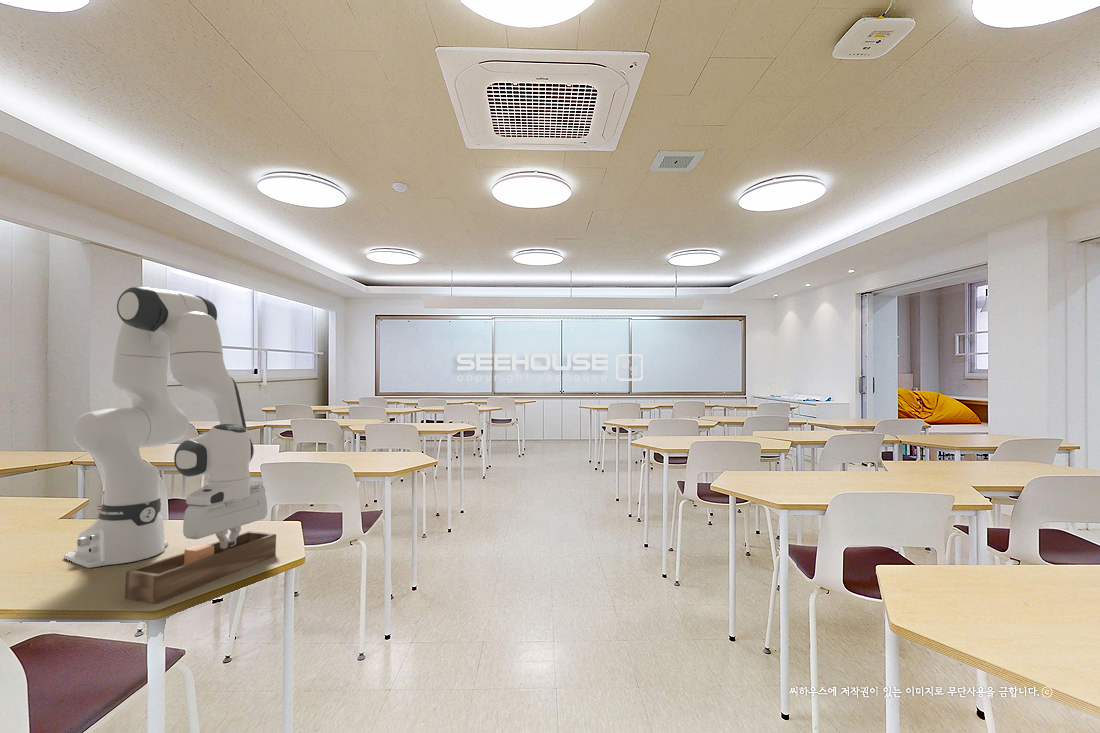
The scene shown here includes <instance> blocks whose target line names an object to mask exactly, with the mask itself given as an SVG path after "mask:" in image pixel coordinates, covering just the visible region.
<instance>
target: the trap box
mask: <svg viewBox="0 0 1100 733" xmlns="http://www.w3.org/2000/svg"><path fill="white" fill-rule="evenodd" d="M228 538H229V537H227V539H228ZM208 545H212V546H214V555H212V556H209V557H206V558H203V559H200V560H198V561H195V562H192V563H189V564H186V565H184V554H185V551H184V552H182V553H179V554H175V555H173V556H169V557H166V558H163V559H160V560H158V561H155V562H151V563H148V564H144V565H142V566H139V567H136V568H133V569H130V570H127V571H125V584H124V586H125V587H124V588H125V589H124V590H125V591H124V599H126V600H127V599H129V600H132V601H139V602H140V601H141V602H146V603H150V604H159V603H162V602H164V601H166V600H169V599H171V598H174V597H176V596H178V595H179V596H180V595H182V594H183V593H186V592H189V591H191V590H194V589H196V588H198V587H200V586H203V585H206V584H208V583H211V582H214V581H216V580H218V579H220V578H223V577H226V576H228V575H230V574H232V573H236V572H237V571H241V570H243V569H245V568H248V567H250V566H253V565H255V564H258V563H260V562H262V561H265V560H267V559H270V558H272V557H275V556H276V554H277V553H276V552H277V551H276V549H277V534H276V533H269V532H261V531H260V532H259V531H251V530H248V531H245V532H243V533H239V535H238V537H237V538H236V545H234V546H231V547H228V548H226V549H221V548H220V541H219V540H218V541H215V542H212V543H209V544H208Z"/></svg>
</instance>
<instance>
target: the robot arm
mask: <svg viewBox="0 0 1100 733" xmlns="http://www.w3.org/2000/svg"><path fill="white" fill-rule="evenodd" d="M116 311H117V314H118V316H119V318H120V320H121V321H122V324H121V326H120V330H119V333H118V335H117V336H118V337H117V341H116V345H115V352H114V359H113V370H112V383H113V385H114V386H115V387H116V388H117V389H119V390H120V391H121V392H124V393H125V394H128V396H129V397H130V399H131V403H132V406H131V407H118V408H117V407H111V408H110V407H109V408H103V409H99V410H92V411H89V412H85V413H83V414H81V415H80V416H79V417H78V418H76V420H75V422H74V424H73V425H72V430H71V436H72V439H73V441H74V444H76V446H77V447H78V448H80V449H81V450H83V451H84V452H87V453H88V454H89V455H91V456H92V457H93V458H94V459H95V460H96V461H97V463H98V465H99V466H100V469H101V471H102V473H103V474H102V475H103V484H104V485H103V486H104V492H103V494H104V496H103V497H104V498H103V499H104V500H103V504H101V505H97V508H98V509H96V510H97V511H99V512H98V513H99V514H98V516H97V519H96V520H95V521H94V522H93V523H91V524H90V525H89V526H87V528H85V529H84V530H83V531H81V532H80V533H79V535H78V538H77V540H76V549H74V550H71V551H68V552H67V553H65V554H64V555H63V559H64V558H65V559H64V560H66V559H67V560H66V561H69V560H70V561H69V562H71V561H72V563H73V564H77V565H79V566H82V567H84V568H87V569H90V568H91V569H92V568H97V567H101V566H102V567H103V566H110V565H118V564H119V565H120V564H125V563H131V562H136V561H141V560H145V559H149V558H151V557H154V556H157V555H160V554H162V553H163V552H164V551H165V550H166V548H165V547H168V545H169V541H168V540H166V539H165V528H164V527H165V526H164V524H165V523H164V518H163V516H162V515H161V514H160V512H161V511H162V510H161V509H162V508H161V506H162V501H161V500H162V499H161V497H160V481H161V480H160V477H161V476H160V475H161V474H160V471H159V469H158V467H157V466H155V465H154V464H153V463H150V462H147V461H144V459H143V458H142V456H141V453H140V449H144V448H151V447H152V448H154V447H160V446H165V445H170V444H172V443H175V442H178V441H181V440H182V439H183V438H184V437H185V436H186V435H187V433H188V431H189V428H190V423H189V418H188V416H187V415H186V413H185V412H184V411H183V410H182V409H181V408H179V407H178V406H177V405H176V404H175V402H174V401H173V399H172V398H171V396H170V392H169V388H168V370H169V369H168V368H169V367H168V366H170V372H171V374H172V377H173V379H175V381H176V382H177V383H178V384H180V385H181V386H183V387H184V388H186V389H187V390H190V391H194V392H196V393H199V394H201V395H203V396H205V397H207V398H208V399H209V400H211V401H212V403H214V405H215V407H216V411H217V415H218V416H217V417H218V420H219V424H217V425H214V426H212V427H211V428H210V430H209V431H207V432H205V433H204V434H201V435H199V436H196V437H194V438H190V439H187V440H184V441H182V442H181V443H180V444H179V445H178V447H177V448H176V450H175V452H174V458H173V460H174V465H175V468H176V470H177V472H178V473H179V474H181V475H183V476H184V477H186V478H187V477H189V478H190V477H192V478H193V477H195V478H196V477H197V478H198V477H203V476H208V479H207V484H206V485H203V487H202V486H201V488H198V489H197V490H195V491H193V492H191V493H189V494H188V495H187V496H186V498H185V502H186V505H188V507H186V509H185V511H184V513H183V515H184V516H183V527H182V533H183V536H184V537H185V538H186V539H188V540H199V539H203V538H205V537H206V538H207V537H209V536H213V535H215V536H216V538H217V539H218V541H220V548H221V549H226V548H228V547H231V546H234V545H236V538H237V537H238V535H239V534H241V533H240V532H241V530H242V526H244V525H247V524H251V523H254V522H257V521H260V520H264V519H266V517H267V516H268V502H267V495H266V488H265V486H263V485H262V484H261V483H256V484H252V485H251V472H250V468H249V467H250V463H251V461H252V459H253V457H254V454H255V453H254V452H255V449H254V444H253V442H252V439H251V437H250V433H249V430H248V428H247V424H246V421H245V414H244V410H243V405H242V401H241V396H240V392H239V389H238V386H237V382H236V381H235V379H234V378H233V377H231V375H230V373H229V372H228V370H227V367H226V365H225V361H224V355H223V354H224V353H223V345H222V344H223V343H222V337H221V332H220V329H219V326H218V322H217V319H218V311H217V308H216V306H215V304H214V302H212V301H210V300H209V299H207V298H206V297H202V296H201V295H195V294H194V295H193V294H190V293H187V292H182V291H177V290H169V289H160V288H151V287H148V286H132V287H129V288H127V289H125V290H124V291H123V292H122V293H121V294H120V296H119V297H118V299H117V303H116ZM169 361H170V362H169ZM169 364H170V365H169ZM228 531H230V533H228ZM228 534H229V536H228V537H227V535H228ZM227 538H228V539H227Z"/></svg>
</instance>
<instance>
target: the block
mask: <svg viewBox="0 0 1100 733" xmlns="http://www.w3.org/2000/svg"><path fill="white" fill-rule="evenodd" d="M184 552H185V554H184V565H186V564H189V563H192V562H195V561H198V560H200V559H203V558H206V557H209V556H212V555H214V546H212V545H209V544H198V545H195V546H191V547H189V548H185V549H184Z"/></svg>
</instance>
